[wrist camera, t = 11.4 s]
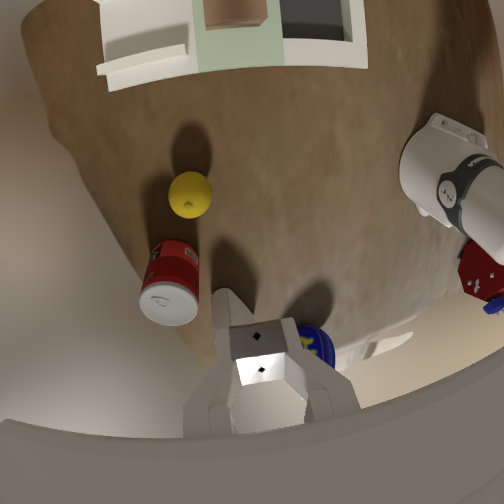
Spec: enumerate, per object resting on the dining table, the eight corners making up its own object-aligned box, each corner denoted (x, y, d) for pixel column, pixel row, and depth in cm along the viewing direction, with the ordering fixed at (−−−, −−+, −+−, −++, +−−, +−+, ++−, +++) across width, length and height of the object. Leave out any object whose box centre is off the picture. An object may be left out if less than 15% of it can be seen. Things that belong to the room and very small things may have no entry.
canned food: (152, 234, 43) (138, 280, 34) (203, 241, 45) (202, 289, 36) (149, 273, 47) (138, 322, 38) (196, 280, 49) (194, 329, 40)
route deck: (348, -30, 23) (368, -41, 18) (357, 68, 32) (379, 69, 27) (106, -13, 21) (90, -24, 16) (116, 90, 30) (100, 93, 25)
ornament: (307, 308, 56) (330, 371, 44) (333, 325, 60) (356, 383, 48) (267, 339, 60) (280, 400, 48) (295, 352, 64) (310, 409, 52)
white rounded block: (257, 316, 56) (267, 369, 45) (238, 325, 56) (245, 378, 46) (228, 282, 50) (233, 339, 40) (207, 293, 51) (208, 350, 41)
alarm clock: (458, 277, 59) (503, 333, 42) (442, 269, 56) (491, 332, 40) (490, 228, 52) (543, 279, 35) (476, 216, 49) (536, 271, 33)
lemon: (168, 168, 38) (159, 190, 31) (208, 161, 38) (208, 181, 31) (176, 204, 41) (170, 232, 34) (214, 197, 41) (215, 225, 34)
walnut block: (254, -16, 23) (263, -32, 18) (258, 26, 26) (267, 17, 21) (202, -12, 22) (200, -28, 17) (206, 30, 26) (204, 21, 21)
